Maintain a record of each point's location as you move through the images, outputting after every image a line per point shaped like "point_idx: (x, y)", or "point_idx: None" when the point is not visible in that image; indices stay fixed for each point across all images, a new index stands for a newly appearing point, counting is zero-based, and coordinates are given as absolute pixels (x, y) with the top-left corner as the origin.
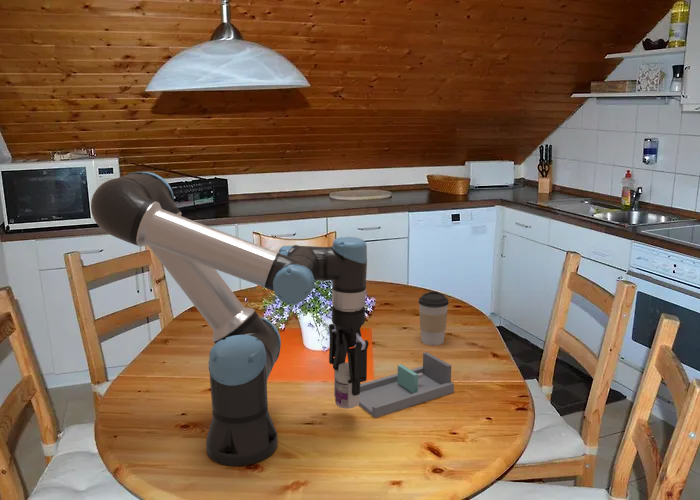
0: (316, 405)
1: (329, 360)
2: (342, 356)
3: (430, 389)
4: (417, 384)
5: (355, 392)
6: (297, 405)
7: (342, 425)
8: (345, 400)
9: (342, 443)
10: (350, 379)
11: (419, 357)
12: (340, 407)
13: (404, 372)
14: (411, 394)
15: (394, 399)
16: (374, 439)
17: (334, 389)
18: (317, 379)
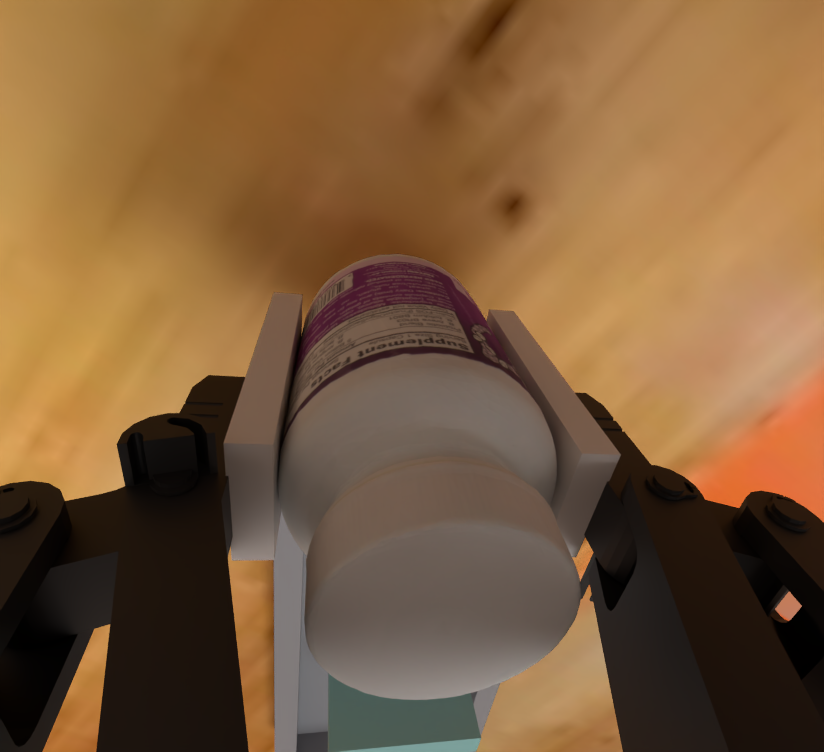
0: (628, 232)
1: (812, 522)
2: (651, 726)
3: (285, 708)
4: (328, 701)
5: (188, 405)
6: (731, 124)
7: (317, 215)
8: (322, 309)
9: (84, 47)
10: (214, 478)
11: (567, 744)
12: (363, 260)
13: (415, 724)
14: (294, 643)
15: (299, 571)
16: (43, 277)
17: (530, 337)
18: (808, 401)
